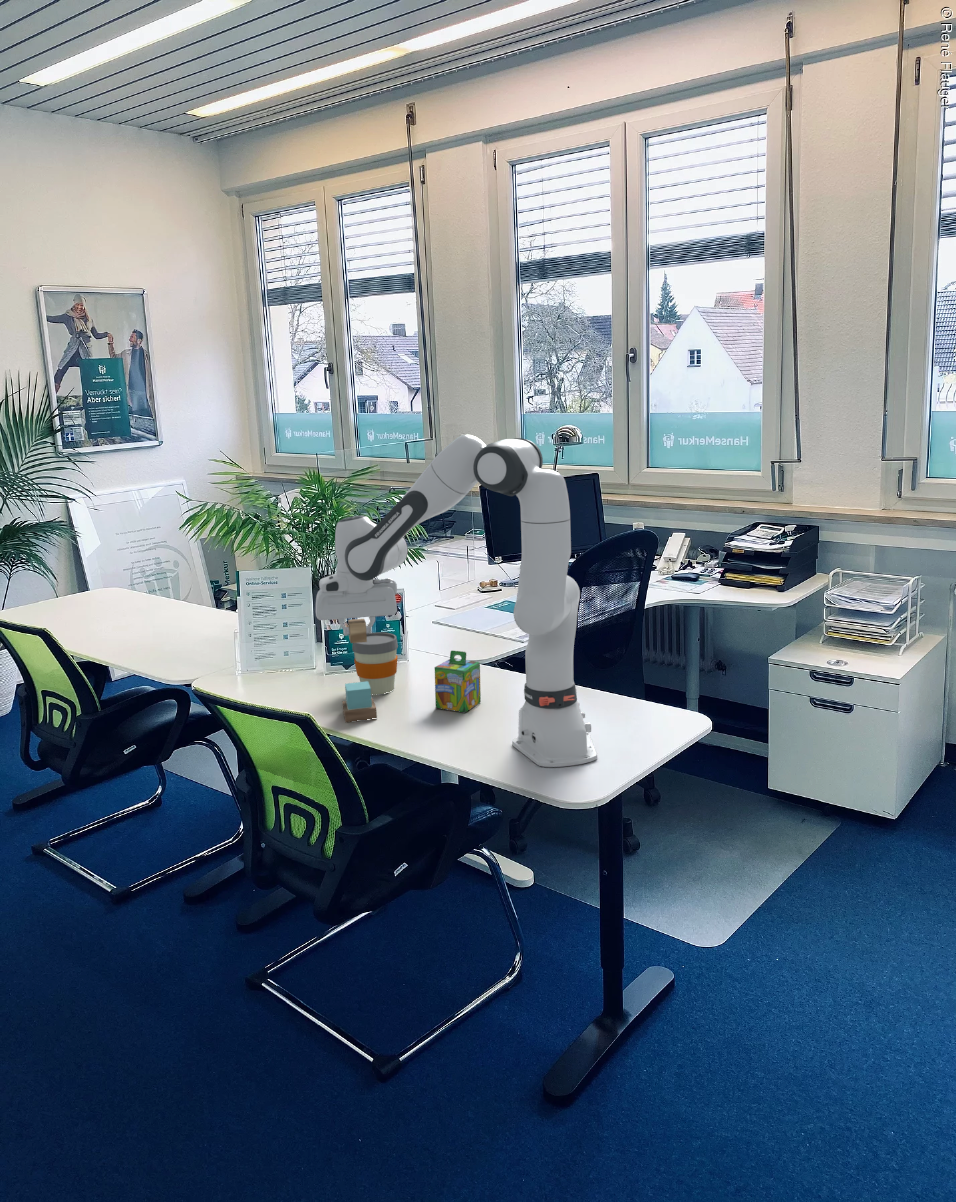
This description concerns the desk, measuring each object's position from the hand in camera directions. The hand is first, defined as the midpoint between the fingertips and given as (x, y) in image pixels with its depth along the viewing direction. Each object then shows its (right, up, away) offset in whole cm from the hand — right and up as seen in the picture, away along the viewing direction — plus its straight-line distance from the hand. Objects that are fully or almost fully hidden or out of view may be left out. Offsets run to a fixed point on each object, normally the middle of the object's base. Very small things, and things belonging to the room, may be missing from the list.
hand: (357, 634), depth 242 cm
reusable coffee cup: (+2, -17, +26) cm, 31 cm away
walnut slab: (0, -21, +7) cm, 22 cm away
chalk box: (+25, -20, +11) cm, 34 cm away
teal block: (0, -18, +6) cm, 19 cm away
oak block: (0, -2, 0) cm, 2 cm away
